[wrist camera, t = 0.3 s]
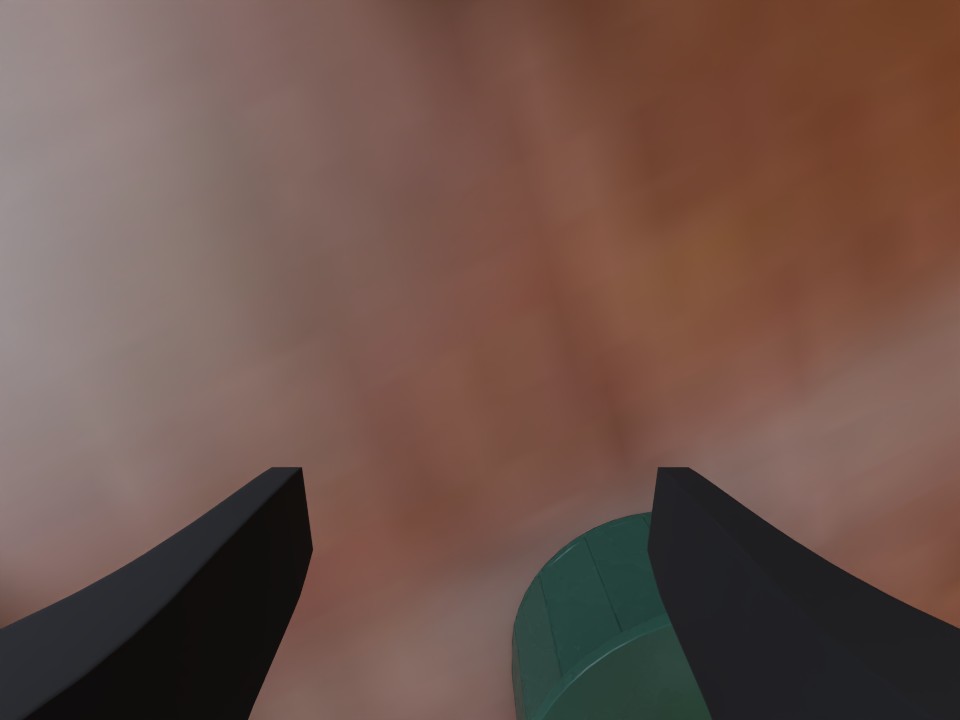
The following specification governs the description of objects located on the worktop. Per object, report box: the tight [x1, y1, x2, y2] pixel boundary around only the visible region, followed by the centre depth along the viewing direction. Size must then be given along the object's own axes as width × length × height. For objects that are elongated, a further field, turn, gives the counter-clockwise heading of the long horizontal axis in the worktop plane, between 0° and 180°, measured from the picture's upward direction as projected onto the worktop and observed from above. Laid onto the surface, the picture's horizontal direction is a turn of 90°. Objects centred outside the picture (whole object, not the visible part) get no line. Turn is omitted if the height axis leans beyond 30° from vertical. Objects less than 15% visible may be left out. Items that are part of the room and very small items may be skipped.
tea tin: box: [512, 512, 667, 720], centre depth 21 cm, size 13×13×6 cm
